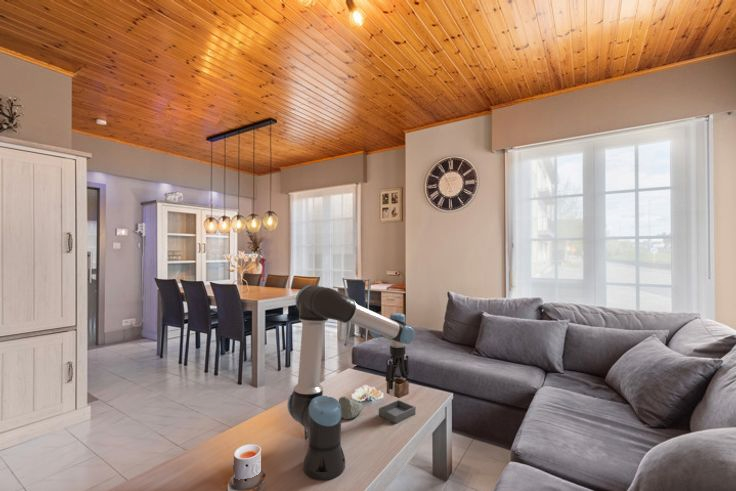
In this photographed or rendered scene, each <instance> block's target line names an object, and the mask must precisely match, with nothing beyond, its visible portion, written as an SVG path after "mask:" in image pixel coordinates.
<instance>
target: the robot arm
mask: <svg viewBox="0 0 736 491" xmlns="http://www.w3.org/2000/svg"><path fill="white" fill-rule="evenodd" d="M356 302H357V301H355V299H353V298H351V297H349V296H347V295H345V294H343V293H341V292H340V291H338V290H336V289H333V288H332V287H325V286H320V285H315V284H314V285H307V286H304V287H302V288H301V289H300V290H299V291H298V292H297V295H296V297H295V306H296V308H297V310H298V312H299V314H298V319H299V321H300V322H301V324H302V326H301V335H300V336H301V339H300V349H299V365H298V366H299V367H298V378H297V384H296V385H294V387H293V391H292V393H291V394H290V395H289V397H288V400H287V410H288V413H289V415H290V416H291V417H292V419H293V420H295V422H298V423H299V424H300V425H301V426H302V427H303V428H305V429H306V430H307V431H308V446H307V450H306V453H305V457H304V460H303V465H302V466H303V468H302V469H303V472H304V474H305V475H306V476H307V477H308V478H310V479H313V480H317V481H326V480H331V479H334V478H336V477H339V476H340V475H341V474H343V472H344V471H345V468H346V457H345V454H344V450H343V447H342V443H341V441H342V440H341V439H342V436H341V434H342V417H341V416H342V414H341V406H340V403H339V400H337V399H336V398H335V397H332V396H328V395H323V394H324V387H323V386H322V385H321V384H320V382H321V368H322V355H323V354H322V352H323V338H324V337H323V336H324V328H325V326H324V325H325V324H326V323H327V322H328V320H332V321H338V322H340V323H344V324H347V323H351V324H353V325H356V326H358V327H360V328H363V329H366V330H367V331H369V334H370V335H371V337H372V338H374V339H381V338H384V339H388V340H389V345H390V346H389V354H390V359H386V361H385V363H386V372H385V382H386V383H387V382H389V389H390V393H389V394H388V395H389V396H391V397H395V382H394V378H396V373H397V369H398V367H399V371H400V373H399V374H400V377H399V378H400V379H403V380H406V381H407V379H408V377H409V375H410V370H409V355H406V345H410V344H412V343H413V341H414V340H415V339H414V338H415V336H416V333H415V330H414V328H413V327H411V326H408V325H407V324H406V323H407V322H406V314H404V313H401V312H394V313H390V314H389V318H388V317H386V316H385V315H382V314H379V313H377V312H376V311H373V310H371V309H368V308H366V307H364V306H363V305H360V304H358V303H356ZM391 379H392V380H391Z"/></svg>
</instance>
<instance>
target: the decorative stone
mask: <svg viewBox="0 0 736 491" xmlns="http://www.w3.org/2000/svg"><path fill="white" fill-rule="evenodd" d="M338 402H339V403H340V406H341V414H342V416H341V419H343V420H351V419H353V418H356V417H357V416H358V415H359V413H361V412H362V411H363V409H364V407H363V404H362V403H361V402H357V401H356V400H352V399H351V398H349V397H346V396H340V397H339V398H338Z"/></svg>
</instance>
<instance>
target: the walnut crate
mask: <svg viewBox="0 0 736 491" xmlns="http://www.w3.org/2000/svg"><path fill="white" fill-rule="evenodd" d="M391 380H392V379H391ZM394 382H395V396H394V397H395V398H397V399H401V398H404V397H405V396H408V395H409V394H410V392H409V386H410V385H409V384H410V382H409V381H408V380H407V379H406V380H403V379H400V377H397V376H395V377H394ZM389 393H390V389H389V382H387V381H386V394H388V395H389Z"/></svg>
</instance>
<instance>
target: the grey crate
mask: <svg viewBox="0 0 736 491" xmlns="http://www.w3.org/2000/svg"><path fill="white" fill-rule="evenodd" d="M416 410H417V409H416V406H415V405H412V404H409V403H408V402H405V401H403V400H400V399H397V400H395V401H393V402H390V403H388V404H386V405H385V404H384V405H383V406H380V407H378V417H380V418H382V419H385V420H386V421H389V422H391V423H393V424H395V425H397V424H398V423H401V422H403V421H404V420H407V419H409V418H411V417H413V416H415V415H416Z"/></svg>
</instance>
